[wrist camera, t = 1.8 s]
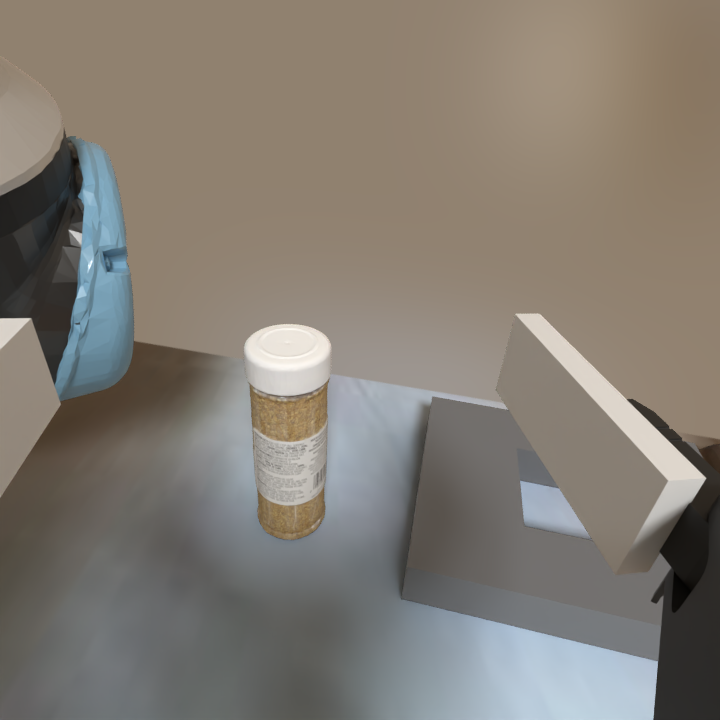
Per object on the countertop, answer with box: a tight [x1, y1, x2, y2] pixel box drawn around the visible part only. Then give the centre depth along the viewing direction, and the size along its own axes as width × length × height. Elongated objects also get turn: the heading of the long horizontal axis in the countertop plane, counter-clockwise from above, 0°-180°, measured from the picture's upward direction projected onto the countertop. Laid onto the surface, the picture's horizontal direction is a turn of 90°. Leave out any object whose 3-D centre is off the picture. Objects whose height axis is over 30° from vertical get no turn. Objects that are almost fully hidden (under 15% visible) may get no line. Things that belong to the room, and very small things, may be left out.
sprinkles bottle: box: [244, 324, 331, 540], centre depth 28 cm, size 5×5×13 cm
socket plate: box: [401, 397, 703, 661], centre depth 31 cm, size 20×16×4 cm
